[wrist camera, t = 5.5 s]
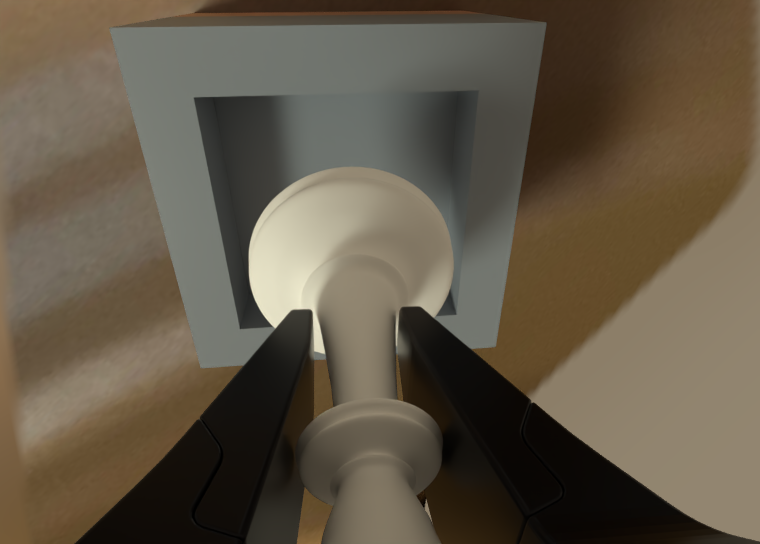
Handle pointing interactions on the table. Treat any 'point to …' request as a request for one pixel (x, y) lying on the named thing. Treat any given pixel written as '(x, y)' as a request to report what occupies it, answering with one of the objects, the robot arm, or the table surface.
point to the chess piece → (359, 339)
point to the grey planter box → (329, 140)
